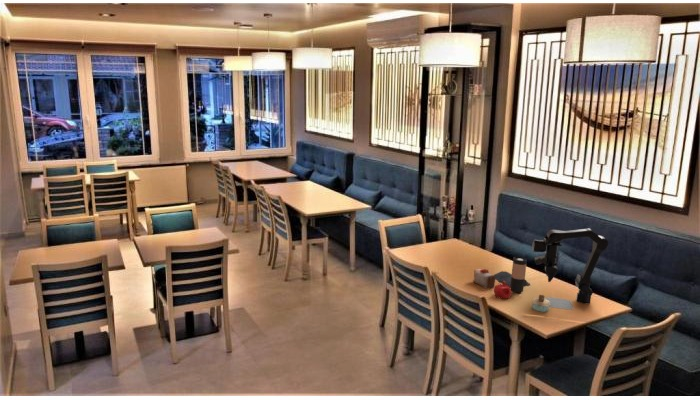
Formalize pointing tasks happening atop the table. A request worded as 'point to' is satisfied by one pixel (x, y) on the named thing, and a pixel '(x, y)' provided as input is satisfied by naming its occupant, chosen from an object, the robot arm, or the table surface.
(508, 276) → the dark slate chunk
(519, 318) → the table surface
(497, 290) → the pomegranate
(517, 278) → the travel mug
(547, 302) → the lid
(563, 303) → the mat
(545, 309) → the bowl
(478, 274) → the food item
